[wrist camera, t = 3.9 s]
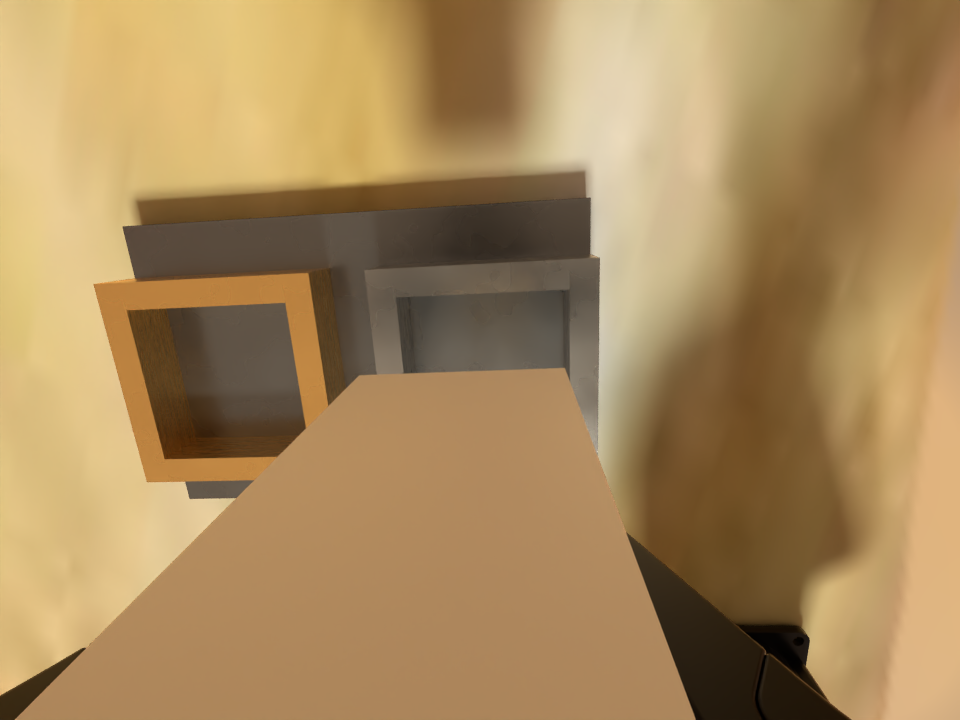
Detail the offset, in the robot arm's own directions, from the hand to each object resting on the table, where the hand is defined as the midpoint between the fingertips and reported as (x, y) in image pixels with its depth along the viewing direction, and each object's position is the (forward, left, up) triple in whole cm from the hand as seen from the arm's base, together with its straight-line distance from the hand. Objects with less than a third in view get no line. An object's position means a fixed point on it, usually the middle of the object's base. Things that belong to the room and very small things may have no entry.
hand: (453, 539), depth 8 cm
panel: (+5, 0, -12) cm, 13 cm away
